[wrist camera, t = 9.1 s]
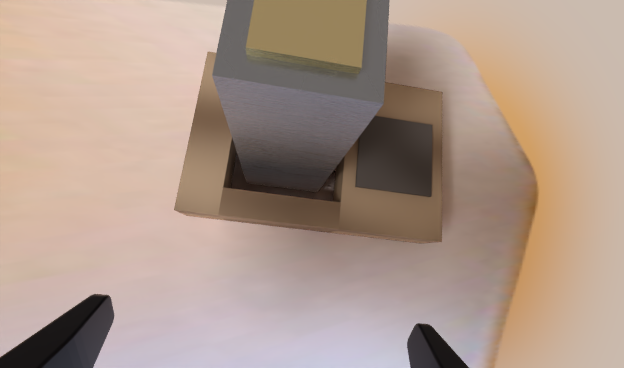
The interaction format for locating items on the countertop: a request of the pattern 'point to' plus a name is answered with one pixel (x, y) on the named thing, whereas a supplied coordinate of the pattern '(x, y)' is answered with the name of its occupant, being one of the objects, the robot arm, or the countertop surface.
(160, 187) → the countertop surface
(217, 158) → the plate with square hole
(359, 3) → the grey tall block
